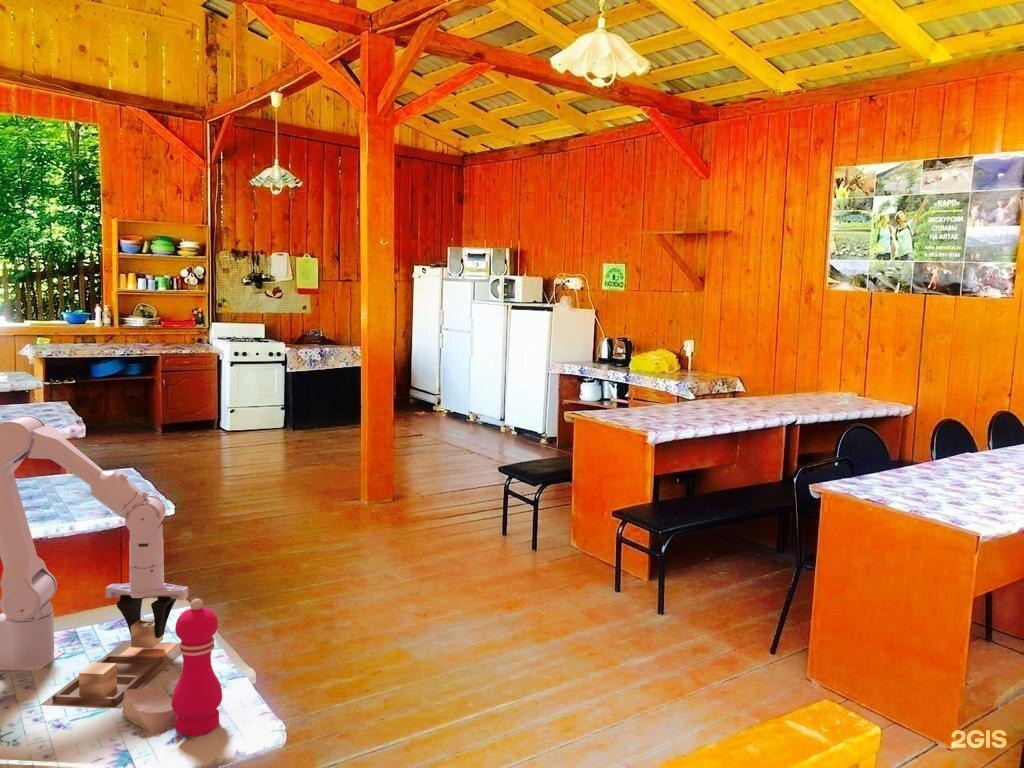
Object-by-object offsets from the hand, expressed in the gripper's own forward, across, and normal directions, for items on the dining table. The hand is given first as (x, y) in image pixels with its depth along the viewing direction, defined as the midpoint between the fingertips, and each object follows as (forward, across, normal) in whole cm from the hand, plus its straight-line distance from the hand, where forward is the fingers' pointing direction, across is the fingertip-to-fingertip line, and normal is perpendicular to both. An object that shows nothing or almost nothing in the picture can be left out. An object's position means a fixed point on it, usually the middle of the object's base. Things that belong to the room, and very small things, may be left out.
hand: (147, 635), depth 143 cm
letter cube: (+1, 0, 0) cm, 1 cm away
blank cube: (+3, 0, -16) cm, 16 cm away
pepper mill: (+4, +20, -24) cm, 32 cm away
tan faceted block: (+4, +12, -23) cm, 27 cm away
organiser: (+3, 0, -8) cm, 9 cm away
